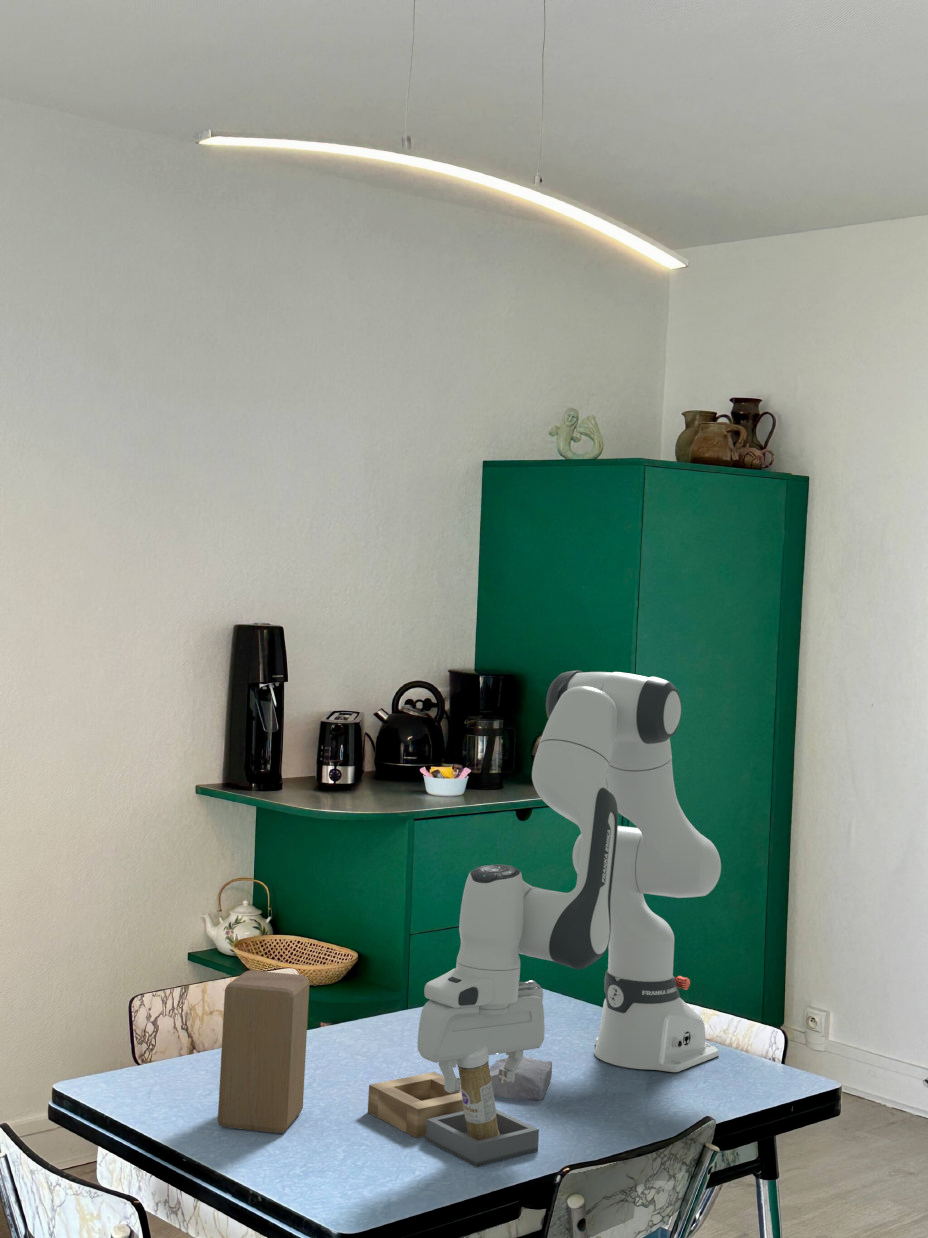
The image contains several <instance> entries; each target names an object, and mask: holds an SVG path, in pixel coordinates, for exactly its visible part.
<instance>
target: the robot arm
mask: <svg viewBox="0 0 928 1238" xmlns="http://www.w3.org/2000/svg"><path fill="white" fill-rule="evenodd" d="M547 689H548V690H547V692H546V698H545V711H546V717H547V719H548V720H547V721H546V724H545V727H544V729H543V732H542V736H541V738H540V740H539V743H538V747H537V750H536V753H535V756H534V759H533V763H532V764H533V765H532V769H531V780H532V784H533V787H534V789H535V791H536V793H537V795H538V796H539V798H540V799H541V800H542V801H543V802H544V803H545V804H546V805H547V806H548V807H549V808H551V809H552V810H553V811H554V812H556V813H558V815H561V816H562V817H564V818H565V819H567V820H569V822H572V823H574V824H575V825H576V826H578V828H579V830H580V834H579V835H578V837H577V838H576V840H575V842H574V846H573V849H572V864H573V867H574V870H575V872H576V874H577V876H576V877H577V878H576V884H575V886H574V888H573V889H572V890H571V891H570V892H569V891H568V892H564V891H563V892H562V891H558V890H552V889H551V890H550V889H544V888H541V887H537V886H532V885H531V884H529V883H528V882H526V881H524V879H523V875H522V872H521V870H520V869H518V868H517V867H515V866H512V865H507V864H497V863H496V864H490V865H489V864H485V865H480V866H477V867H476V868H474V869H472V870H471V871H470V872H469V873H468V876H467V878H466V881H465V885H464V889H463V894H462V898H461V904H460V914H459V923H458V924H459V925H458V931H459V937H460V947H459V951H458V954H457V957H456V965H455V966H456V967H455V968H452V969H451V970H449V971H448V972H446V973H444V974H442V975H440V976H438V977H436V978H434V979H431V980H430V981H428V982H426V983H425V985H424V989H423V990H424V991H423V992H424V997H425V998H426V999H429V1000H428V1001H427V1002H425V1004H424V1005H423V1007H422V1009H421V1013H420V1018H419V1025H418V1034H417V1051H418V1053H419V1055H420V1056H421V1057H422V1058H423V1059H425V1060H427V1061H430V1062H431V1063H435V1064H436V1063H438V1067H439V1069H440V1071H441V1073H442V1076H444V1077H445V1081H444V1089H445V1091H447V1092H449V1093H453V1092H459V1091H460V1088H461V1087H460V1085H461V1079H460V1077H457V1076H456V1074H455V1070H454V1069H455V1068H456V1067H457V1064H456V1062H457V1060H458V1059H465V1058H467V1057H468V1056H469V1055H471V1054H473V1053H474V1052H476V1051H478V1050H480V1049H482V1048H484V1047H487V1049H488V1054H489V1056H492V1055H498V1054H499V1055H500V1054H505V1055H506V1056H507V1057H506V1058H507V1061H506V1063H505V1065H504V1068H501V1069H499V1081H500V1082H501V1083H503V1084H510V1083H514V1081H515V1071H516V1070H517V1068H518V1066H519V1064H520V1062H521V1060H522V1058H523V1057H524V1051H527V1050H529V1051H530V1050H535V1049H539V1048H541V1046H542V1044H543V1043H544V1041H545V1034H546V1033H545V1029H546V1027H545V1012H544V1010H545V1009H544V1005H543V1000H544V999H543V998H544V992H543V990H544V989H542V987H541V985H540V984H538V983H537V982H536V981H535V980H527V981H520V974H521V959H520V955H523V956H524V955H525V956H527V957H532V958H537V959H541V960H547V961H551V962H554V963H557V964H559V965H563V966H566V967H569V968H572V969H575V970H583V969H586V968H587V967H589V966H591V965H592V964H594V963H596V962H597V961H598V960H599V959H600V958H602V956H604V954H605V953H606V952H607V950H608V962H607V963H608V964H607V967H608V968H607V970H606V971H605V976H604V987H603V988H604V990H603V991H604V993H605V994H604V995H605V998H604V1000H603V1005H602V1011H601V1016H600V1017H601V1018H600V1024H599V1031H598V1036H597V1037H596V1038H595V1043H594V1045H595V1048H594V1051H593V1053H594V1055H595V1057H597V1058H598V1059H600V1060H601V1061H604V1062H605V1063H608V1064H611V1065H613V1066H614V1065H615V1066H619V1067H623V1068H630V1069H638V1070H652V1071H654V1070H655V1071H663V1072H670V1073H678V1072H681V1071H684V1070H686V1069H689V1068H691V1067H693V1066H696V1065H698V1064H701V1063H704V1062H706V1061H709V1060H711V1059H714V1058H716V1057H718V1056H719V1055H720V1053H719V1052H720V1051H719V1049H718V1048H717V1047H716V1046H715V1045H713V1044H711V1043H709V1042H706V1028H705V1022H704V1020H703V1018H702V1017H701V1015H699V1013H697V1012H696V1011H695V1010H694V1009H693V1008H692V1007H690V1006H689V1005H688V1003H686V1002H685V1001H684V1000H683V999H682V998H681V997H680V991H679V989H681V990H685V991H687V990H688V989H689V987H690V986H691V980H690V978H688V977H684V976H682V975H678V976H677V977H675V976H674V975H673V974H674V960H675V959H674V957H675V956H674V955H675V934H674V931H673V930H672V928H671V926H670V924H669V923H668V922H667V921H666V920H665V919H664V918H662V917H661V916H659V915H658V914H656V913H655V912H653V911H652V910H651V908H650V907H649V906H648V904H647V903H646V899H645V897H644V894H646V895H647V894H648V895H652V896H653V895H654V896H662V897H669V898H675V899H676V898H677V899H682V898H697V897H705V896H707V895H709V894H710V893H711V892H712V891H713V890H714V889H715V887H716V885H717V884H718V882H719V880H720V876H721V871H722V863H721V862H722V861H721V858H720V857H721V856H720V855H719V854H720V853H719V851H718V849H717V847H716V846H715V844H714V843H713V842H712V840H710V839H708V838H707V837H706V836H705V835H703V834H701V833H700V831H699V830H697V829H696V828H695V826H694V825H692V823H691V822H690V821H689V819H688V818H687V817H686V815H685V813H684V811H683V809H682V807H681V806H680V803H679V800H678V797H677V794H676V787H675V780H674V771H673V756H672V747H671V745H672V744H671V740H670V739H671V738H672V736H674V735H675V734H676V732H677V731H678V728H679V724H680V722H681V721H680V720H681V715H682V701H681V695H680V692H679V691H678V689H677V688H676V687H675V685H674V684H673V683H672V682H671V681H668V680H666V679H663V678H661V677H657V676H650V677H648V676H645V675H641V674H640V675H639V674H634V673H630V672H629V673H628V672H621V671H613V672H609V671H608V672H607V671H589V672H588V671H586V672H583V671H582V670H571V671H566V672H562V673H560V674H559V675H558V676H557V677H555V679H553V681H552V682H550V685H549V687H548V688H547ZM619 815H621V816H622V817H624V818H626V819H627V820H628V821H630V822H631V823H632V824H633V825H635V826H636V827H632V826H623V825H619ZM519 954H520V955H519Z"/></svg>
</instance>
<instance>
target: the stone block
mask: <svg viewBox="0 0 928 1238" xmlns="http://www.w3.org/2000/svg"><path fill="white" fill-rule="evenodd" d="M507 1058H508V1057H504V1058H500V1059H498V1060H495V1061H494V1063H493V1064H491V1066H489V1070H490V1076H491V1080H492V1087H493V1094H494V1097H498V1098H504V1097H505V1099H521V1100H527V1101H528V1100H529V1101H530V1100H533V1101H542V1100H544V1098H545V1096H546V1092H547V1090H548V1087H549V1086H550V1082H551V1080H552V1076H553V1061H552V1060H541V1059H539V1058H533V1057H531V1056H530V1057H529V1056H528V1057H527V1056H523V1058H522V1060H521V1062H520V1064H519V1066H518V1068H517V1070H516V1071H515V1081H514V1083H510V1084H503V1083H501V1082H500V1081H499V1069H501V1068H504V1065H505V1063H506V1061H507Z"/></svg>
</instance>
